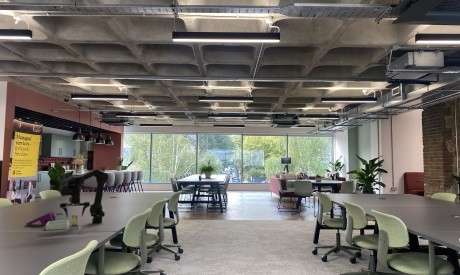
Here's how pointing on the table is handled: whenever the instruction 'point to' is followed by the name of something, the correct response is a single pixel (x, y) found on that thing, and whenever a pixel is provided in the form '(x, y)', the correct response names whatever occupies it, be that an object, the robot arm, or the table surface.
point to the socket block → (74, 227)
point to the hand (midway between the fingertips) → (74, 217)
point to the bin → (57, 225)
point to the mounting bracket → (43, 219)
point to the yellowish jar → (74, 221)
